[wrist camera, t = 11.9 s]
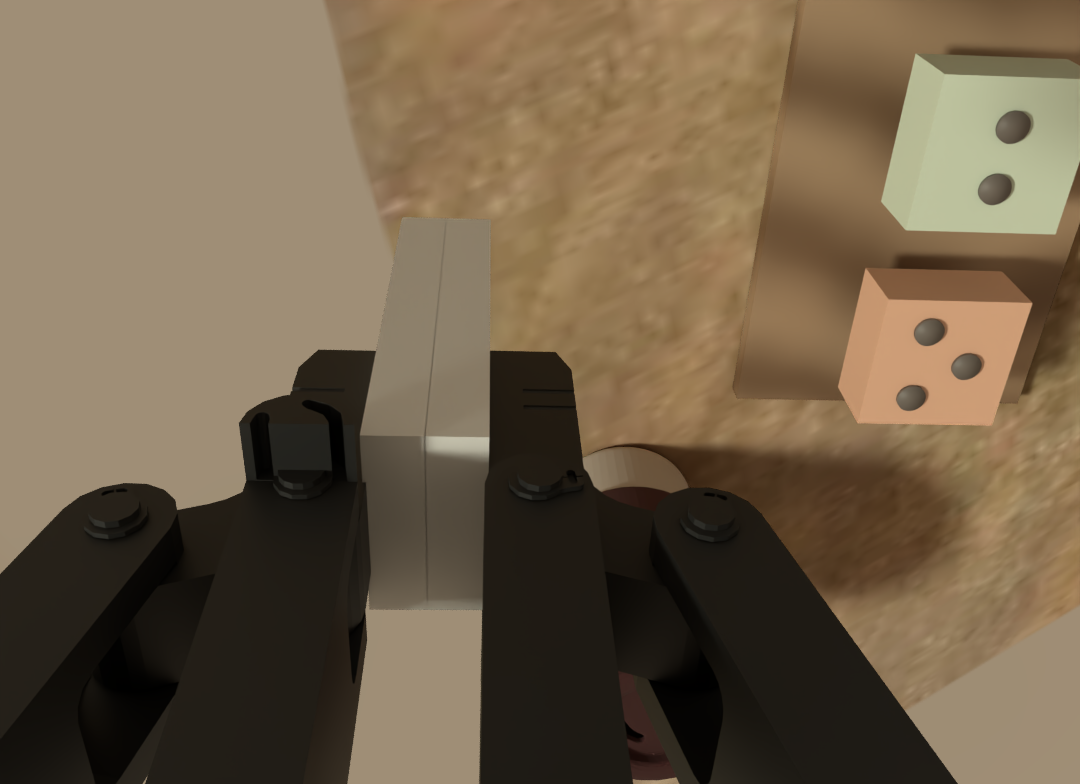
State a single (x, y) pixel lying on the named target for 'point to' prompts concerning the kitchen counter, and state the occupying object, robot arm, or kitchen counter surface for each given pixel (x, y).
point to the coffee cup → (644, 485)
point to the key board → (877, 184)
